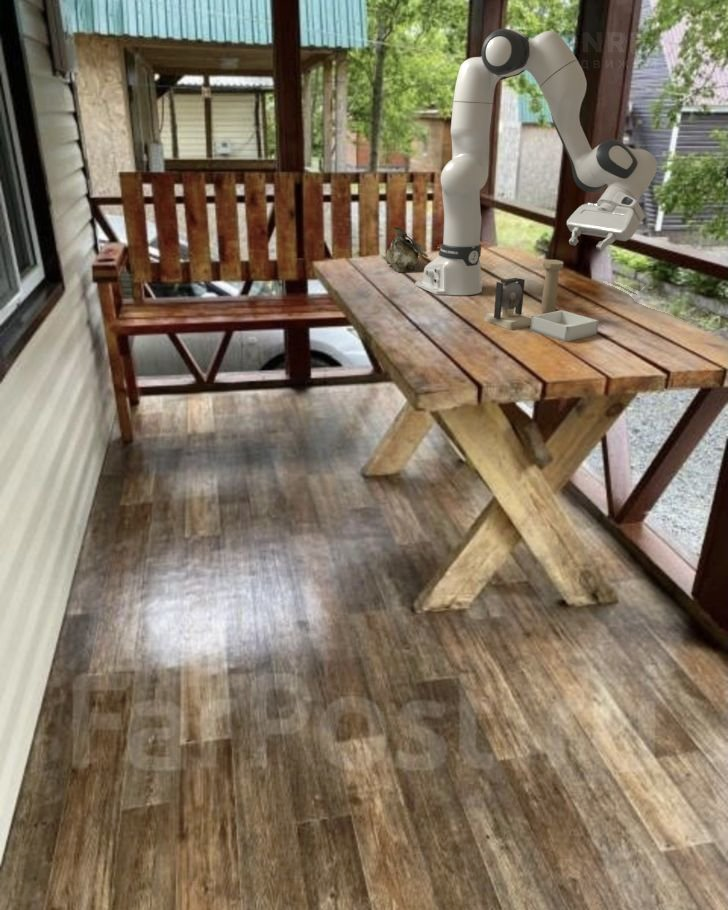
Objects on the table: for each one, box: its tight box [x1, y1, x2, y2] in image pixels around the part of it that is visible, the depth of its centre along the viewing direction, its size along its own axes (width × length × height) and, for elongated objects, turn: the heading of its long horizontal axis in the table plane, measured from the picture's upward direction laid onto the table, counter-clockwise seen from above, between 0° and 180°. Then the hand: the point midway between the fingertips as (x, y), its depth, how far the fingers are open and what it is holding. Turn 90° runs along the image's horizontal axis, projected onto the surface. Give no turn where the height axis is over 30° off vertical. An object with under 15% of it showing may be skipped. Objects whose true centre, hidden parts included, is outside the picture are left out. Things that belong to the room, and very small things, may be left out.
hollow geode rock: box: [385, 226, 429, 273], centre depth 262 cm, size 28×13×15 cm
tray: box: [529, 309, 599, 342], centre depth 186 cm, size 12×11×4 cm
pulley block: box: [484, 277, 531, 331], centre depth 192 cm, size 10×8×12 cm
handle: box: [540, 259, 564, 315], centre depth 197 cm, size 5×6×15 cm
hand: (585, 246), depth 198 cm, fingers open, 8 cm apart
